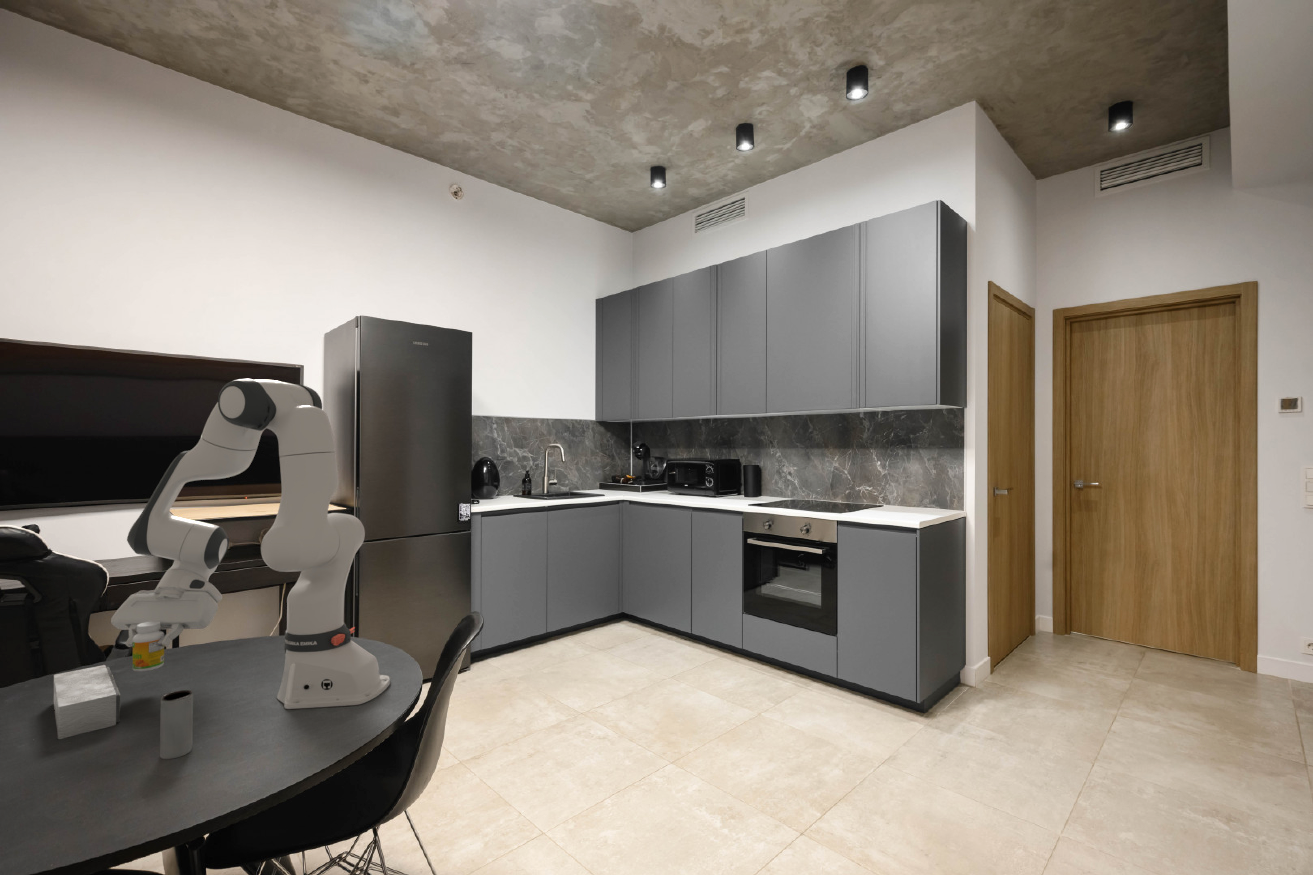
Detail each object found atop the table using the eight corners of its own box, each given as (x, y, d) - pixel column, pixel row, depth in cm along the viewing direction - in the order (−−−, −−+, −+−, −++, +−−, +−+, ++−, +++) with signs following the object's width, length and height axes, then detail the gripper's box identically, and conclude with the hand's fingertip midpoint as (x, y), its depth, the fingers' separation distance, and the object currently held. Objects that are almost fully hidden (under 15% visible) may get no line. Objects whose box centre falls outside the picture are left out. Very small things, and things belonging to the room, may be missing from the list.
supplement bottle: (126, 669, 132) (126, 625, 132) (154, 661, 137) (155, 618, 137) (141, 673, 130) (141, 628, 130) (169, 664, 135) (169, 621, 135)
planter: (166, 762, 105) (167, 702, 105) (155, 754, 107) (156, 696, 107) (196, 750, 109) (197, 693, 109) (185, 743, 111) (186, 687, 111)
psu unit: (121, 723, 119) (122, 692, 119) (58, 739, 112) (58, 707, 112) (110, 690, 134) (110, 663, 134) (53, 703, 127) (53, 674, 127)
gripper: (126, 583, 140) (88, 639, 130) (217, 582, 141) (186, 638, 131) (141, 597, 145) (106, 652, 135) (229, 596, 145) (200, 651, 136)
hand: (146, 645), depth 133 cm, fingers closed on supplement bottle, 5 cm apart
